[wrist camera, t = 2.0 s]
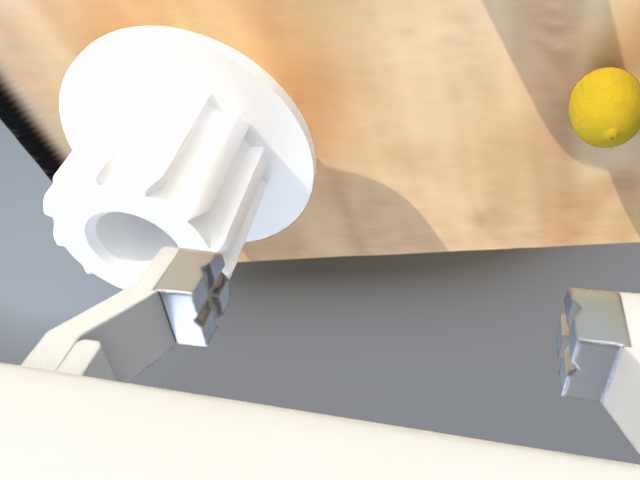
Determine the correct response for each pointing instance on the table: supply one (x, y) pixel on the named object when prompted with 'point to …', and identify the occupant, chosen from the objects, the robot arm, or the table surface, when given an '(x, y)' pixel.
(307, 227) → the table surface
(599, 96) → the lemon
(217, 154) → the ribbed cylinder on disc
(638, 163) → the table surface
